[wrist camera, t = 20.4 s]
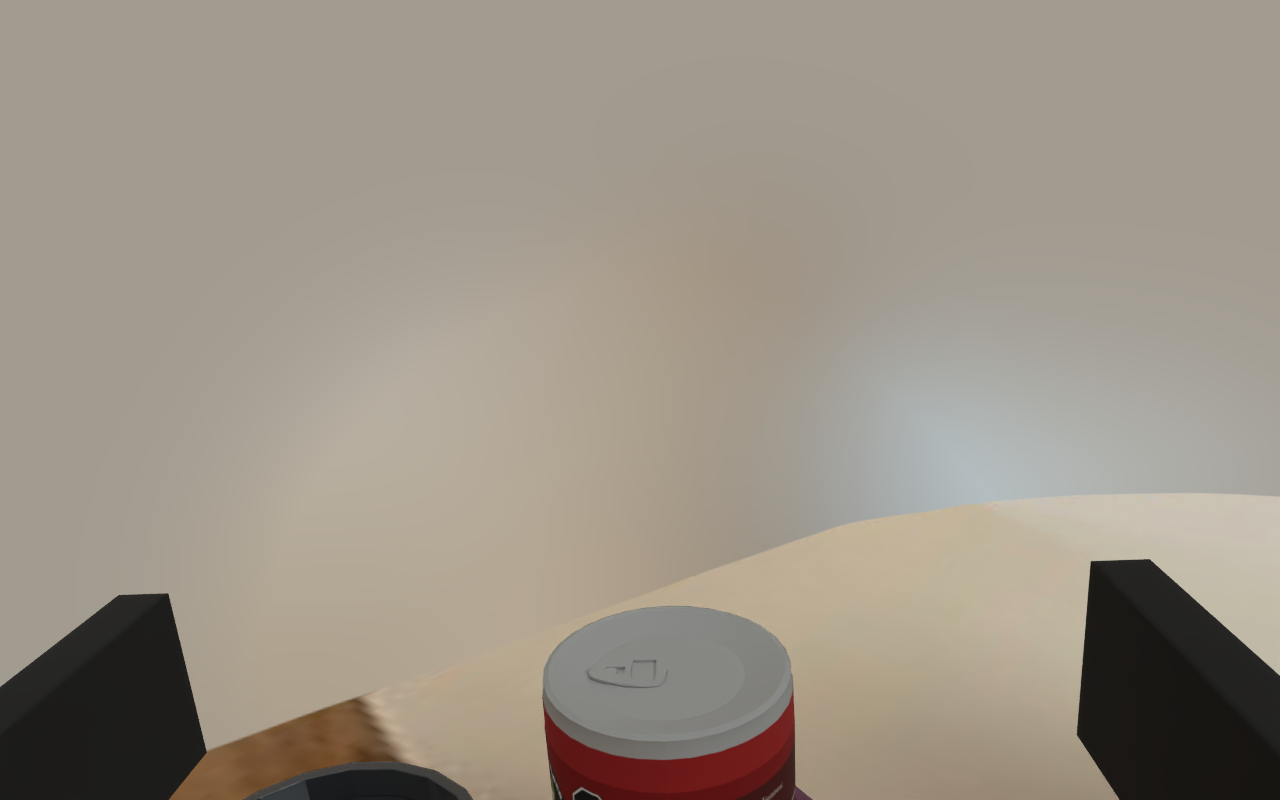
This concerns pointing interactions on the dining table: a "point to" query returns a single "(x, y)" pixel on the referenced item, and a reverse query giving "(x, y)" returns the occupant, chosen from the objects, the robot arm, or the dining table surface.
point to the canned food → (670, 709)
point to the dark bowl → (366, 784)
